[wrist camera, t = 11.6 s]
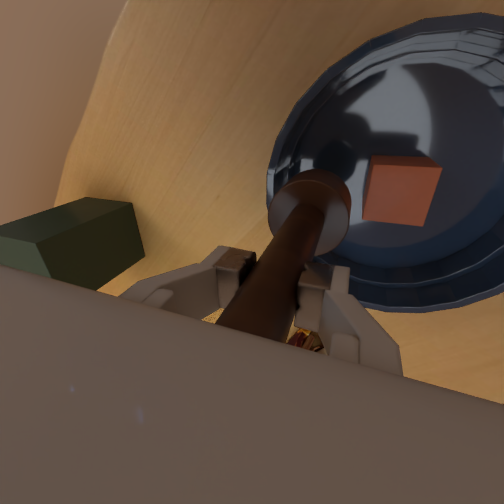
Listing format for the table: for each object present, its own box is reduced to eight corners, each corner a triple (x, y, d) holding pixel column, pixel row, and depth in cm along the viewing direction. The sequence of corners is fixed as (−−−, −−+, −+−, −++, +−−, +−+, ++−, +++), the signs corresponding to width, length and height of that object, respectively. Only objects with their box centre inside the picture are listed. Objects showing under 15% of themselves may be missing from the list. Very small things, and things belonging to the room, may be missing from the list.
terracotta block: (371, 154, 21) (373, 164, 17) (429, 157, 19) (443, 167, 16) (361, 203, 22) (361, 220, 19) (413, 208, 21) (423, 227, 18)
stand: (85, 196, 36) (-20, 231, 26) (131, 202, 33) (34, 243, 23) (103, 247, 39) (17, 295, 30) (145, 256, 37) (67, 311, 27)
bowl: (291, 52, 20) (268, 34, 15) (616, 24, 14) (748, -17, 9) (281, 256, 29) (265, 286, 24) (479, 289, 23) (510, 338, 18)
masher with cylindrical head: (282, 166, 17) (105, 298, 5) (358, 171, 15) (343, 365, 4) (279, 231, 19) (150, 423, 7) (345, 240, 17) (311, 495, 6)
